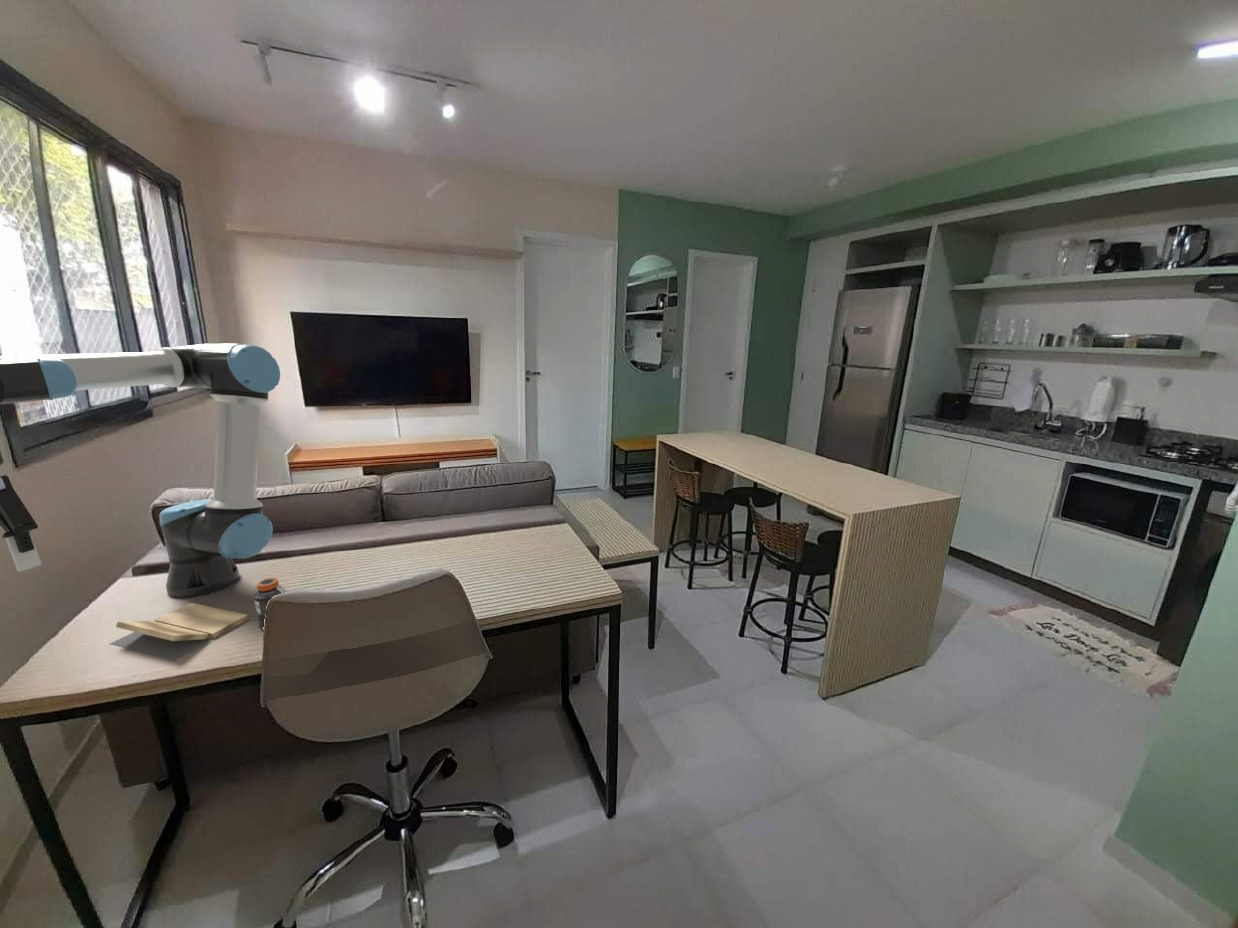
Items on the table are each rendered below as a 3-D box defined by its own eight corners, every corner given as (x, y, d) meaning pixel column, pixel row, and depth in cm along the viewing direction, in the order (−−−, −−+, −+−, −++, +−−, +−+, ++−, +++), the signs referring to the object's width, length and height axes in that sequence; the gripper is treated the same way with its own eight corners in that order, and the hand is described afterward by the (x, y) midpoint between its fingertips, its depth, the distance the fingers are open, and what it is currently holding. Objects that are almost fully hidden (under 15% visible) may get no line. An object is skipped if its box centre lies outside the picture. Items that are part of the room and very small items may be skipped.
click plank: (154, 625, 114) (156, 620, 114) (209, 638, 109) (211, 633, 109) (115, 626, 106) (117, 621, 107) (172, 640, 102) (174, 635, 102)
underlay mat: (193, 605, 123) (193, 604, 123) (253, 618, 118) (253, 617, 118) (109, 644, 107) (109, 643, 107) (175, 661, 102) (174, 660, 102)
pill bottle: (295, 617, 119) (288, 575, 116) (280, 631, 113) (272, 587, 110) (270, 617, 118) (262, 575, 116) (253, 632, 113) (245, 587, 110)
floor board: (192, 607, 122) (191, 602, 121) (248, 619, 117) (247, 614, 117) (155, 624, 114) (154, 620, 114) (213, 638, 110) (212, 633, 109)
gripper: (-120, 445, 81) (-71, 561, 86) (-26, 458, 74) (20, 583, 80) (-50, 435, 87) (-9, 544, 93) (41, 446, 81) (79, 562, 87)
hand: (5, 562), depth 87 cm, fingers open, 13 cm apart
